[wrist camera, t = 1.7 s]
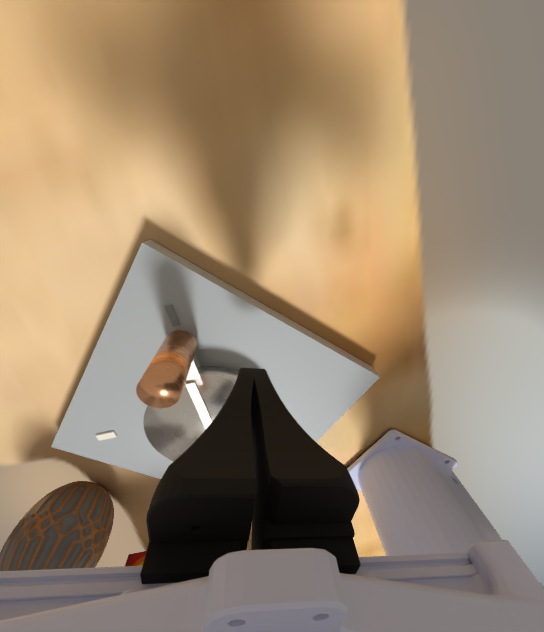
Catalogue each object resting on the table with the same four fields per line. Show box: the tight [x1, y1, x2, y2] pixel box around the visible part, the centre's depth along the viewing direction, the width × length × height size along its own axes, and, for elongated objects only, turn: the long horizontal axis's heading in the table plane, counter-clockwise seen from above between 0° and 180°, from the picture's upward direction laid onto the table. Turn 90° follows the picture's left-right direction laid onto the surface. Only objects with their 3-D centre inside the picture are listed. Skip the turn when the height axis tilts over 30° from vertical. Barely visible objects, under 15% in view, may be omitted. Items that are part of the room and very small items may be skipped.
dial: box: [136, 330, 239, 462], centre depth 16 cm, size 12×9×4 cm
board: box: [51, 239, 380, 479], centre depth 20 cm, size 18×18×1 cm
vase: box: [0, 481, 114, 571], centre depth 20 cm, size 7×7×9 cm
